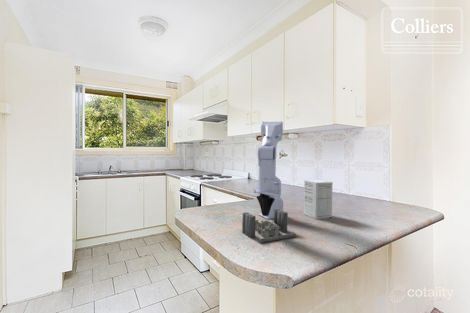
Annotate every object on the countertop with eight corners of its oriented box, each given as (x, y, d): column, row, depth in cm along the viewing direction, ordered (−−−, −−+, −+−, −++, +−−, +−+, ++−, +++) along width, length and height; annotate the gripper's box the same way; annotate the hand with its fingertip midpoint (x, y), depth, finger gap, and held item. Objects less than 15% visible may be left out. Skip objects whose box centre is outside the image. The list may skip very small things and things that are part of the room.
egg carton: (251, 228, 86) (252, 217, 86) (270, 227, 88) (270, 217, 88) (261, 238, 76) (261, 226, 76) (281, 237, 77) (281, 225, 77)
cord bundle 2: (277, 226, 88) (277, 209, 88) (288, 232, 82) (289, 213, 82) (272, 227, 87) (272, 209, 87) (283, 232, 81) (283, 213, 81)
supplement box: (319, 212, 111) (320, 179, 111) (332, 218, 103) (333, 181, 103) (302, 214, 108) (303, 179, 108) (315, 219, 100) (316, 182, 100)
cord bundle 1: (246, 230, 82) (247, 212, 82) (256, 237, 76) (256, 217, 76) (241, 231, 81) (241, 212, 81) (250, 238, 75) (250, 217, 75)
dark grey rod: (293, 236, 78) (293, 232, 78) (295, 237, 77) (295, 233, 77) (258, 242, 72) (258, 238, 72) (260, 243, 71) (260, 240, 71)
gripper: (247, 176, 86) (246, 211, 86) (268, 181, 73) (267, 222, 73) (262, 176, 89) (261, 209, 89) (285, 180, 76) (284, 219, 76)
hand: (265, 215), depth 82 cm, fingers closed
